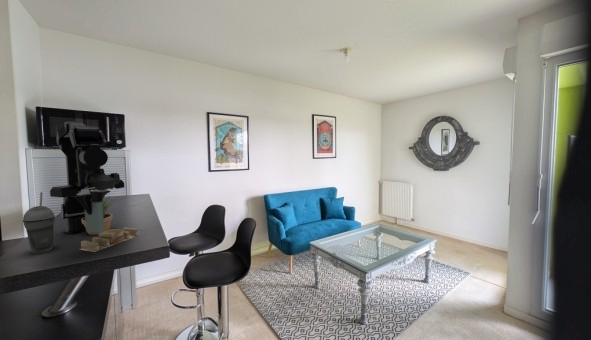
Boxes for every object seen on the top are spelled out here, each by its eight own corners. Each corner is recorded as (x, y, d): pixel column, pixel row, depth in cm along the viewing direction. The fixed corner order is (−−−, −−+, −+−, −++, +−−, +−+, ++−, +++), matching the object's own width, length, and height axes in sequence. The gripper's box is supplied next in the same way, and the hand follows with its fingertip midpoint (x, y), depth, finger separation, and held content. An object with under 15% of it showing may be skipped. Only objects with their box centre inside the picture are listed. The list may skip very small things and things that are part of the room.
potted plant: (76, 238, 94) (70, 173, 92) (99, 230, 104) (95, 170, 101) (98, 240, 92) (93, 173, 90) (120, 231, 102) (116, 170, 100)
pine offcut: (112, 239, 85) (111, 234, 85) (99, 238, 86) (98, 233, 86) (123, 234, 89) (123, 229, 89) (110, 233, 90) (110, 229, 90)
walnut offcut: (111, 245, 84) (110, 239, 84) (98, 243, 86) (97, 238, 86) (125, 239, 89) (124, 234, 89) (112, 238, 91) (112, 233, 91)
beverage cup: (35, 251, 83) (28, 191, 81) (63, 248, 85) (57, 189, 83) (20, 260, 76) (13, 195, 74) (51, 256, 79) (44, 193, 77)
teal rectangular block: (99, 233, 80) (97, 202, 80) (86, 231, 82) (83, 201, 81) (104, 232, 82) (102, 201, 81) (91, 230, 84) (88, 200, 83)
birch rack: (95, 255, 79) (94, 244, 79) (79, 252, 81) (78, 242, 81) (140, 237, 94) (139, 228, 94) (126, 236, 96) (125, 226, 96)
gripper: (72, 168, 69) (77, 224, 70) (134, 164, 87) (137, 208, 88) (46, 168, 72) (51, 221, 74) (111, 163, 90) (114, 206, 91)
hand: (93, 213), depth 82 cm, fingers closed on teal rectangular block, 1 cm apart
